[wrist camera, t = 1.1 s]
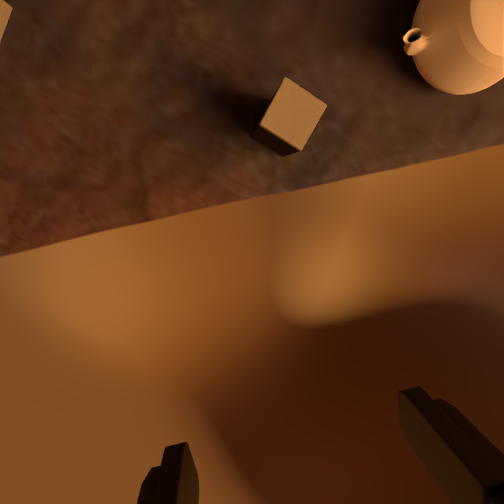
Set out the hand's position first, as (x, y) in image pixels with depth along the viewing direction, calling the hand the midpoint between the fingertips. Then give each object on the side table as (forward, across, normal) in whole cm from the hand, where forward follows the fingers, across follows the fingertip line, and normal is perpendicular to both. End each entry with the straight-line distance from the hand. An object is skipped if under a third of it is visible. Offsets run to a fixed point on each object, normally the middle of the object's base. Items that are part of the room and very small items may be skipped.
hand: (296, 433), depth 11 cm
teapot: (+27, -27, -19) cm, 43 cm away
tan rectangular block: (+27, -6, -13) cm, 31 cm away
